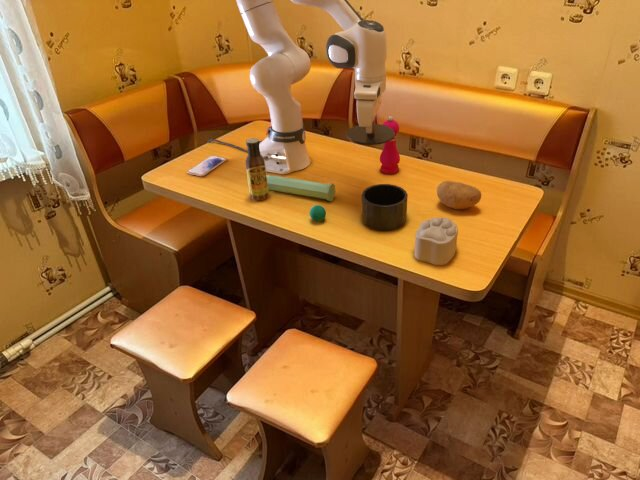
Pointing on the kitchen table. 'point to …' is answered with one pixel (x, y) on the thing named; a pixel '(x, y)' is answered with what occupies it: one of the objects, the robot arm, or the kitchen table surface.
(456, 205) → the potato
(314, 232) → the kitchen table surface
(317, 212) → the ball
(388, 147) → the pepper mill
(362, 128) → the pot lid
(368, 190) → the pot
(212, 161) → the smartphone
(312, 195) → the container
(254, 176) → the sauce bottle
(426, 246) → the lumpy-topped squat cylinder
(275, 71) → the robot arm
